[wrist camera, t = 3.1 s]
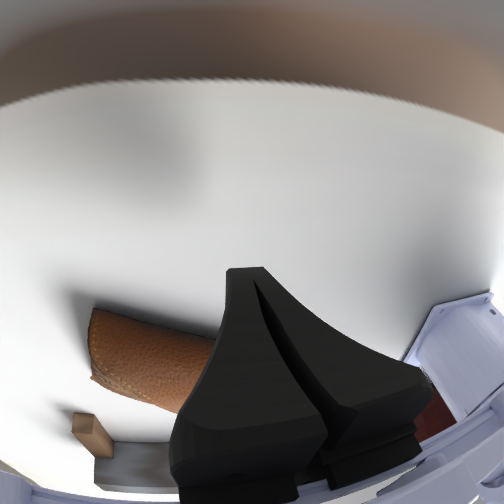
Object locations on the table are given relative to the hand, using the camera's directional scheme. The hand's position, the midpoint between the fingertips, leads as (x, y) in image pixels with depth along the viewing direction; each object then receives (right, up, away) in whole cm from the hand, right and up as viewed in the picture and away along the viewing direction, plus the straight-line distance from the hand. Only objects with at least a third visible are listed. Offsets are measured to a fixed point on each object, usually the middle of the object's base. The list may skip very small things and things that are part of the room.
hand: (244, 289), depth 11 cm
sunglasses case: (-2, -7, +9) cm, 11 cm away
